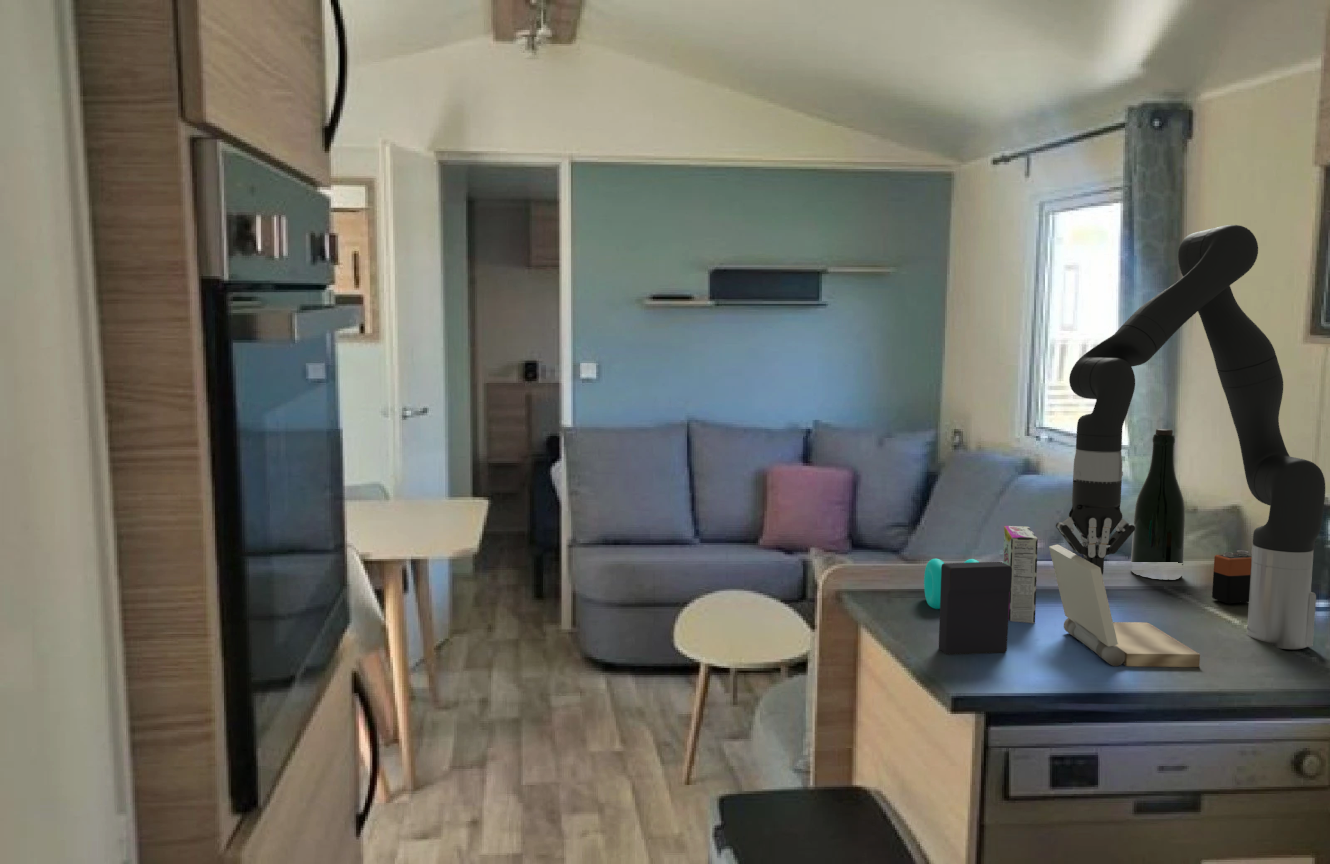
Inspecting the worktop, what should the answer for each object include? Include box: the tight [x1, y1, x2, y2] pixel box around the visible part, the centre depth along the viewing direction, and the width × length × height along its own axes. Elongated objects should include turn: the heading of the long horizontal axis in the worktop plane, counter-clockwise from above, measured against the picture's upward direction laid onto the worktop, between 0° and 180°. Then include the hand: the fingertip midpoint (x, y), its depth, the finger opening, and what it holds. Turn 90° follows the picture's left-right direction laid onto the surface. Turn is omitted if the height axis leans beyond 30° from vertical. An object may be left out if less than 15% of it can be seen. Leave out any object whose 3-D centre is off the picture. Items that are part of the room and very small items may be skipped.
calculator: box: [938, 561, 1012, 656], centre depth 169 cm, size 11×4×15 cm, turn 100°
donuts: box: [923, 558, 980, 610], centre depth 195 cm, size 10×10×10 cm
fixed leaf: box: [1063, 617, 1201, 668], centre depth 171 cm, size 15×18×3 cm
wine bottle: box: [1130, 428, 1186, 564], centre depth 222 cm, size 10×10×33 cm
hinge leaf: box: [1048, 544, 1118, 654], centre depth 171 cm, size 16×18×3 cm
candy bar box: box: [1002, 525, 1039, 624], centre depth 191 cm, size 11×5×16 cm, turn 168°
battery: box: [1211, 550, 1252, 604], centre depth 204 cm, size 4×7×10 cm, turn 104°
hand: (1092, 577), depth 170 cm, fingers closed
